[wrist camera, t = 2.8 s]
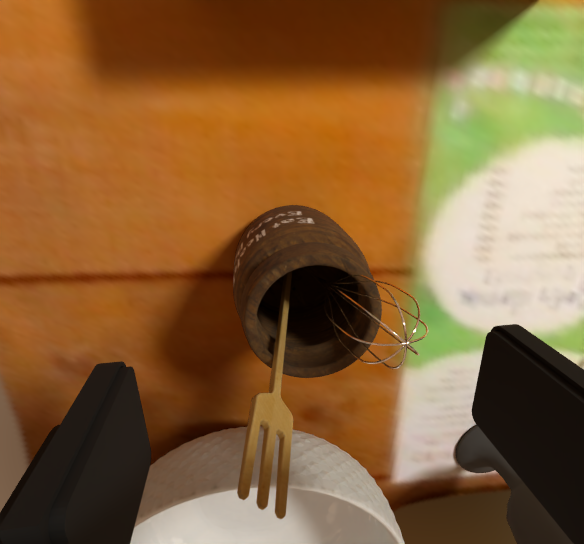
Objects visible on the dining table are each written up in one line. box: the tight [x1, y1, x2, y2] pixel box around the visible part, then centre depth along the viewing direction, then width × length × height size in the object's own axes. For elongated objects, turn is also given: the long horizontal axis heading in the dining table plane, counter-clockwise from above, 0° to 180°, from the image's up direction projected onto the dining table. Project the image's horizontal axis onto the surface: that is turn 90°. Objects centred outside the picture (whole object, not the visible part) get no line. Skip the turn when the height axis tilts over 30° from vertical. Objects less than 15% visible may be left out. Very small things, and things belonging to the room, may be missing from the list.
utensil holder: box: [233, 205, 428, 519], centre depth 14 cm, size 6×6×12 cm
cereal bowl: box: [130, 426, 405, 544], centre depth 22 cm, size 17×17×7 cm
